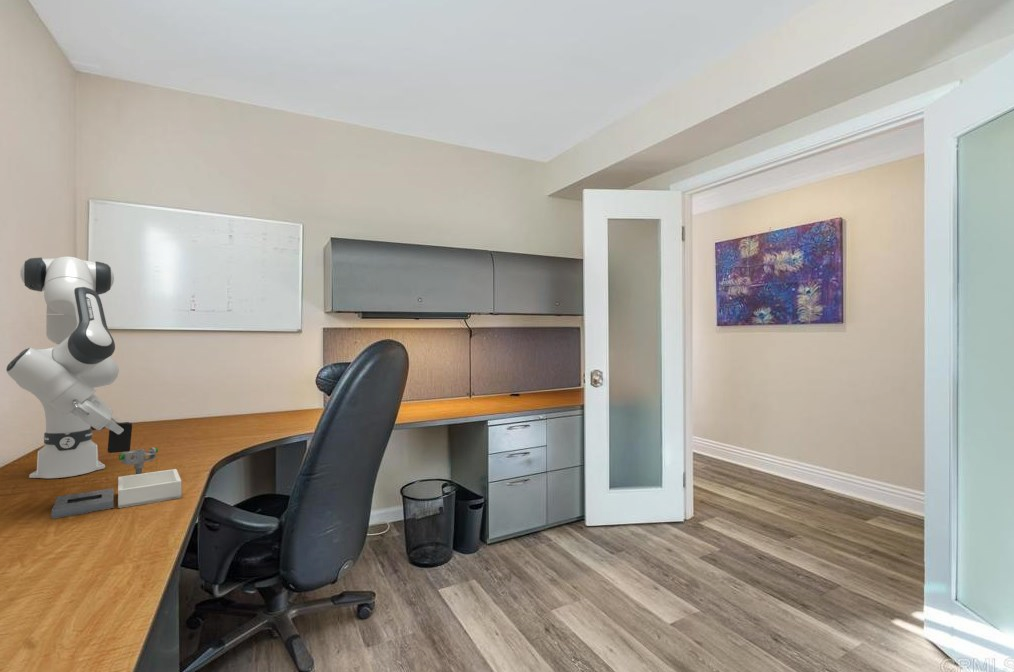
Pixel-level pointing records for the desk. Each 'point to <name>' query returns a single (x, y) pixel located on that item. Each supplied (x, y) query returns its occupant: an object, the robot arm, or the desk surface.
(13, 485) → the desk surface
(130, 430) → the ink cartridge
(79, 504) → the plate
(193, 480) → the desk surface
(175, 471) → the tray
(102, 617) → the desk surface
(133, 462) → the mechanical component
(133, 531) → the desk surface
